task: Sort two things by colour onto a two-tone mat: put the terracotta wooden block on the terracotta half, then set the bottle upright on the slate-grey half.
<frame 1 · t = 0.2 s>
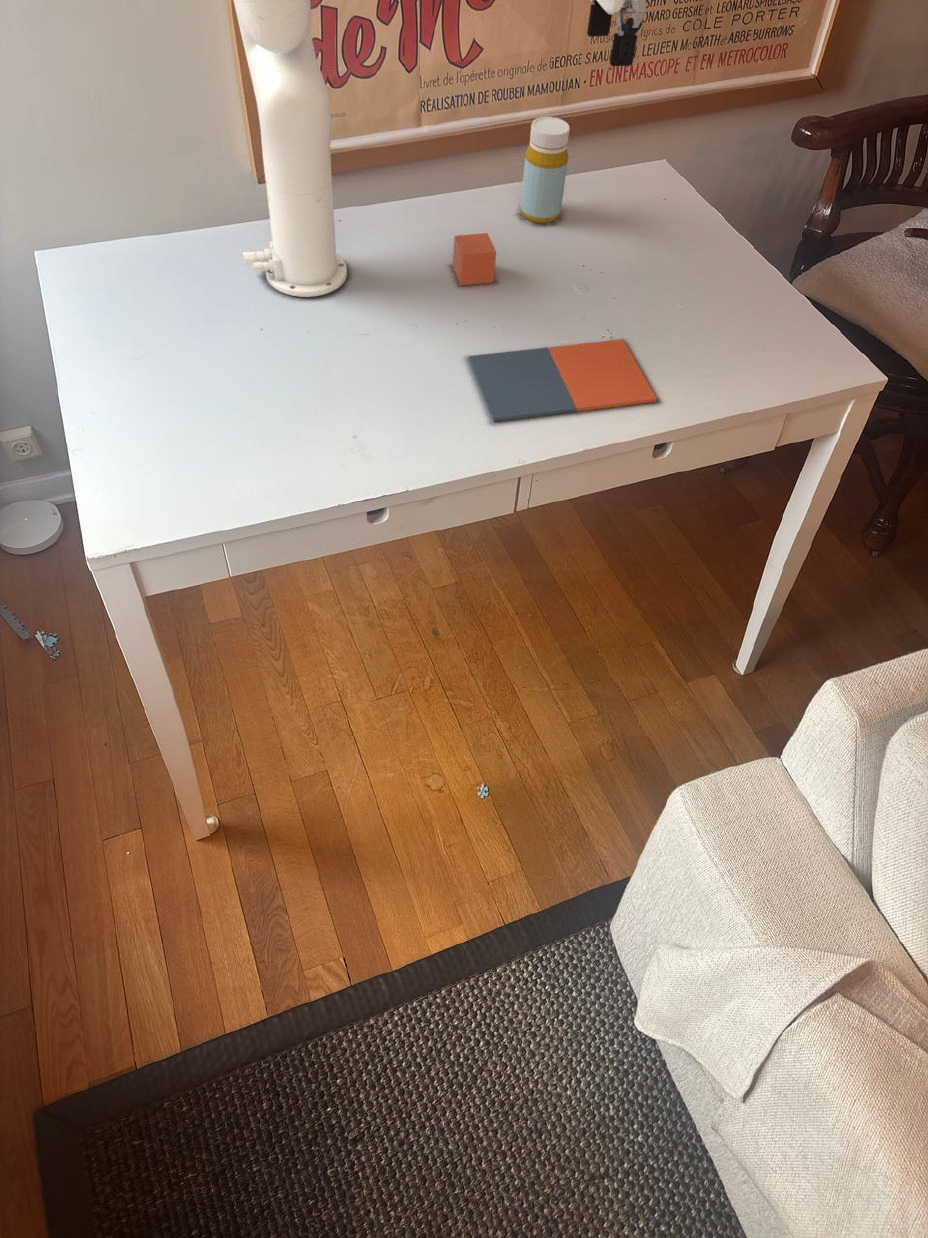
hand: (608, 49, 135), 31 cm above the table, tool pointing down, fingers open, 9 cm apart
sorting mat: (561, 380, 139), on the table
bottle: (539, 215, 166), on the table
block: (473, 274, 154), on the table
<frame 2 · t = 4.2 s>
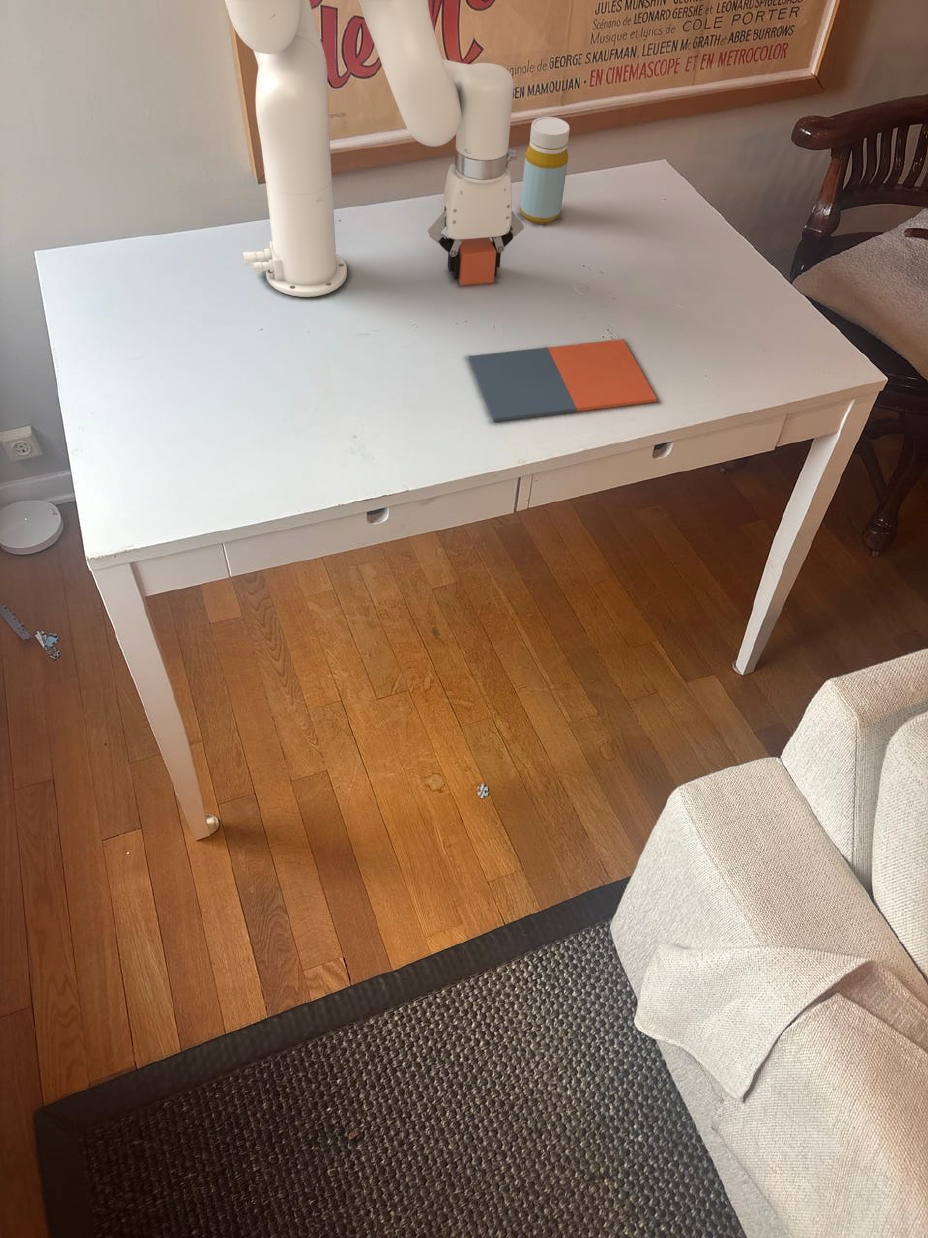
hand: (473, 271, 153), 0 cm above the table, tool pointing down, fingers closed on block, 5 cm apart
block: (473, 274, 154), on the table, touching gripper
everything else where it was.
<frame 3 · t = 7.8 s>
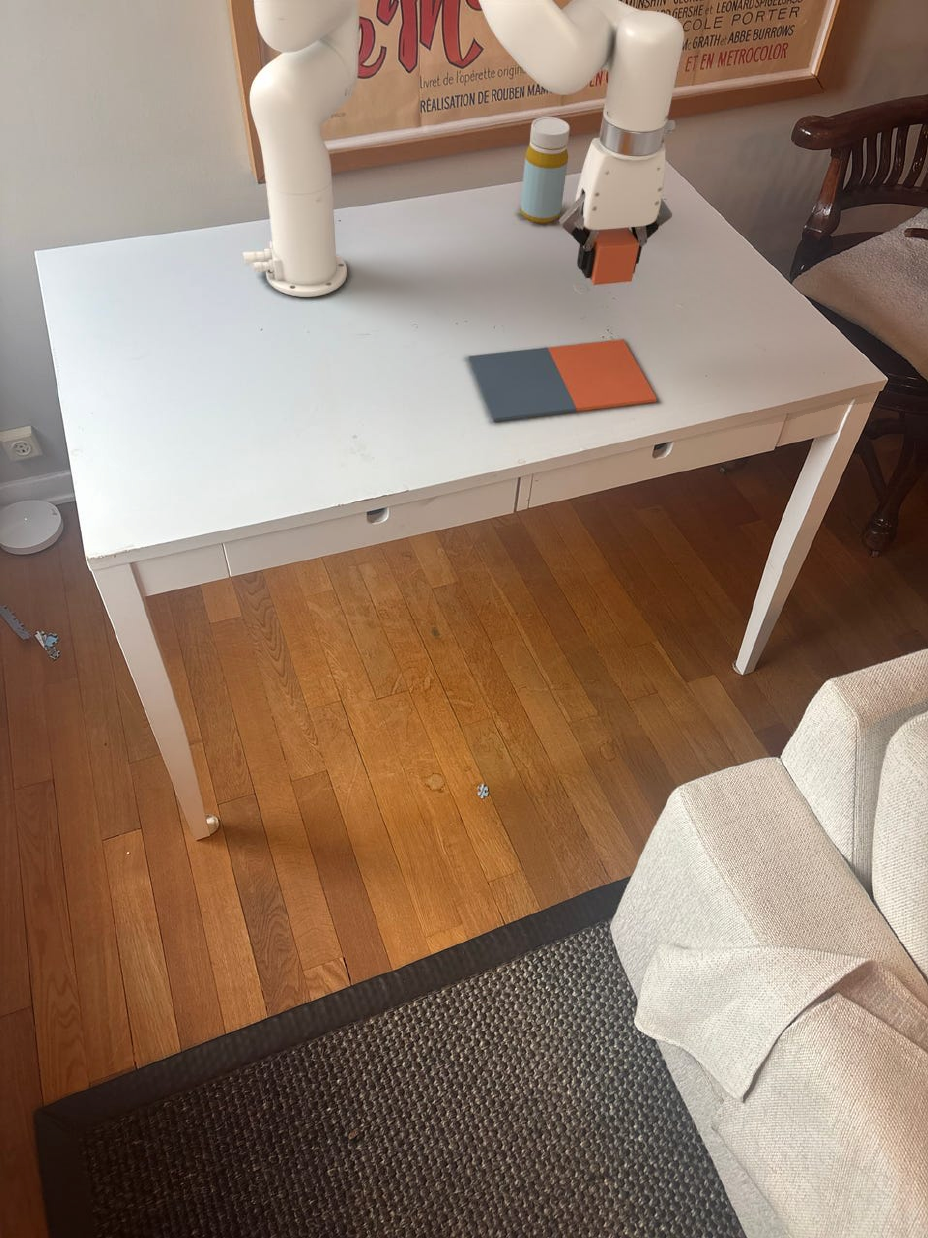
hand: (606, 269, 129), 16 cm above the table, tool pointing down, fingers closed on block, 5 cm apart
block: (605, 271, 129), point 15 cm above the table, touching gripper
everything else where it was.
when the fingers open (1 cm above the table, at t = 11.7 s): block stays where it is, resting on sorting mat.
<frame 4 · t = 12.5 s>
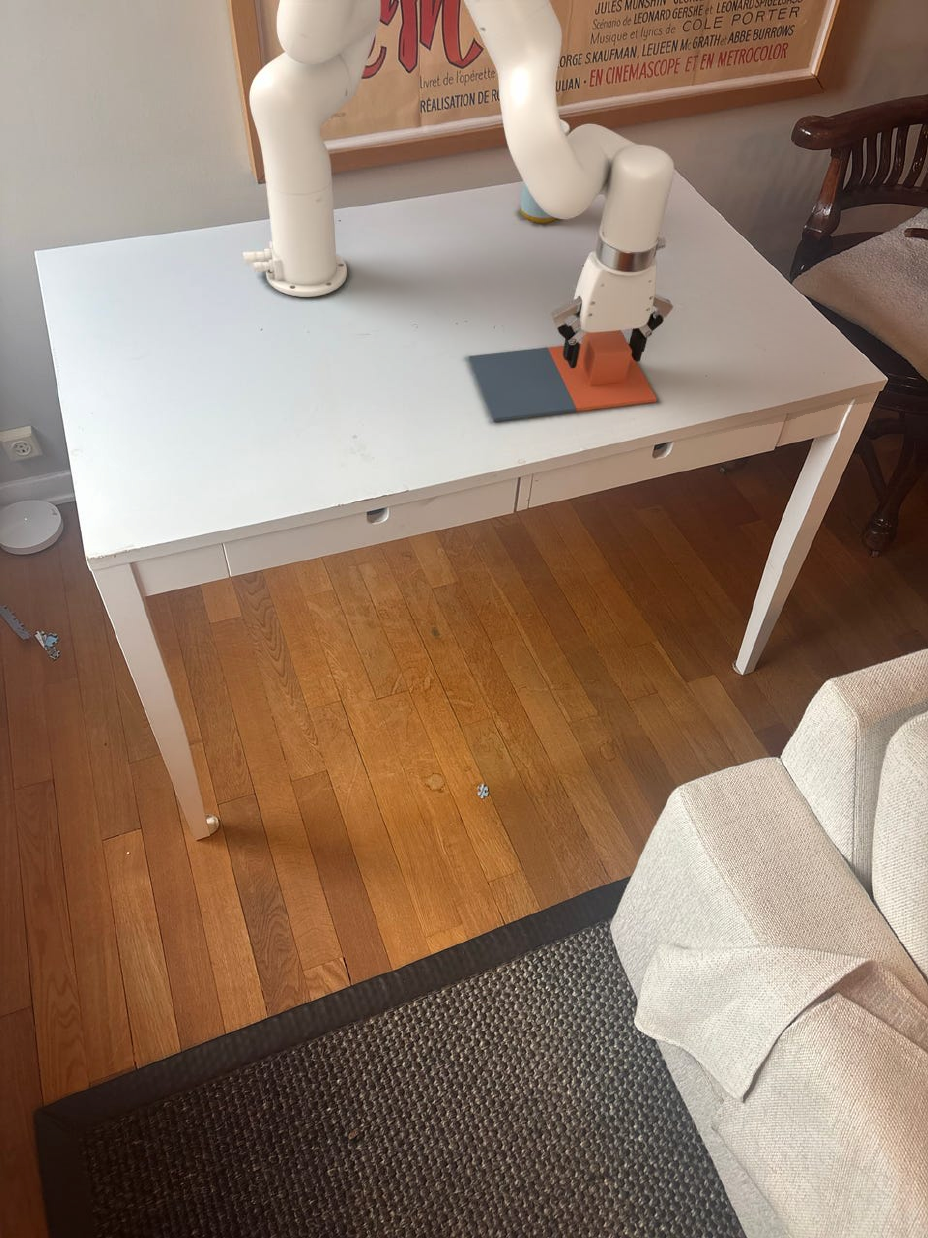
hand: (602, 358, 137), 3 cm above the table, tool pointing down, fingers open, 9 cm apart
block: (601, 372, 139), point 1 cm above the table, touching sorting mat
everything else where it was.
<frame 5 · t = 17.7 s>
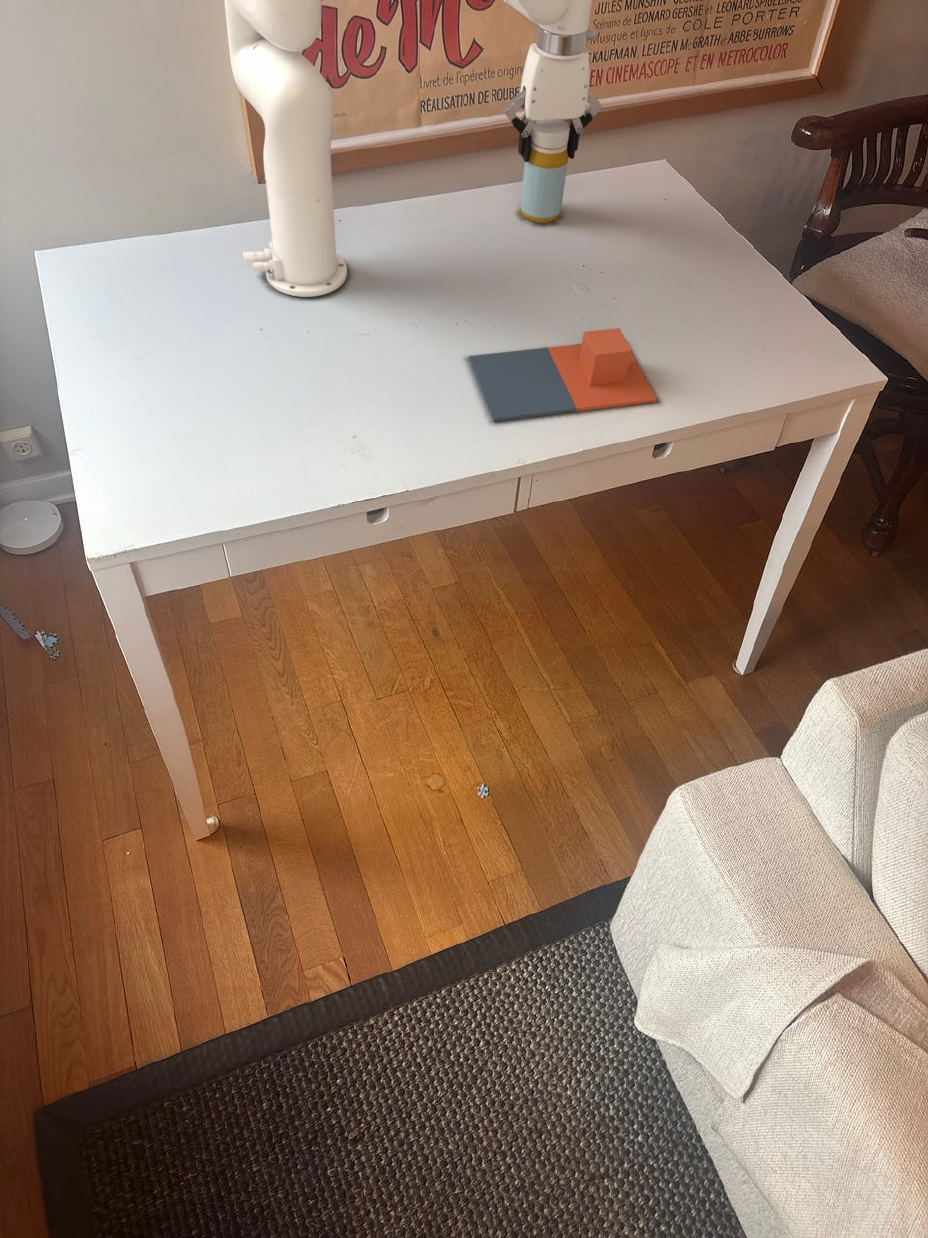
hand: (547, 155, 158), 10 cm above the table, tool pointing down, fingers closed on bottle, 7 cm apart
bottle: (539, 215, 166), on the table, touching gripper
everything else where it was.
when the fingers open (11 cm above the table, at t = 26.2 s): bottle stays where it is, resting on sorting mat.
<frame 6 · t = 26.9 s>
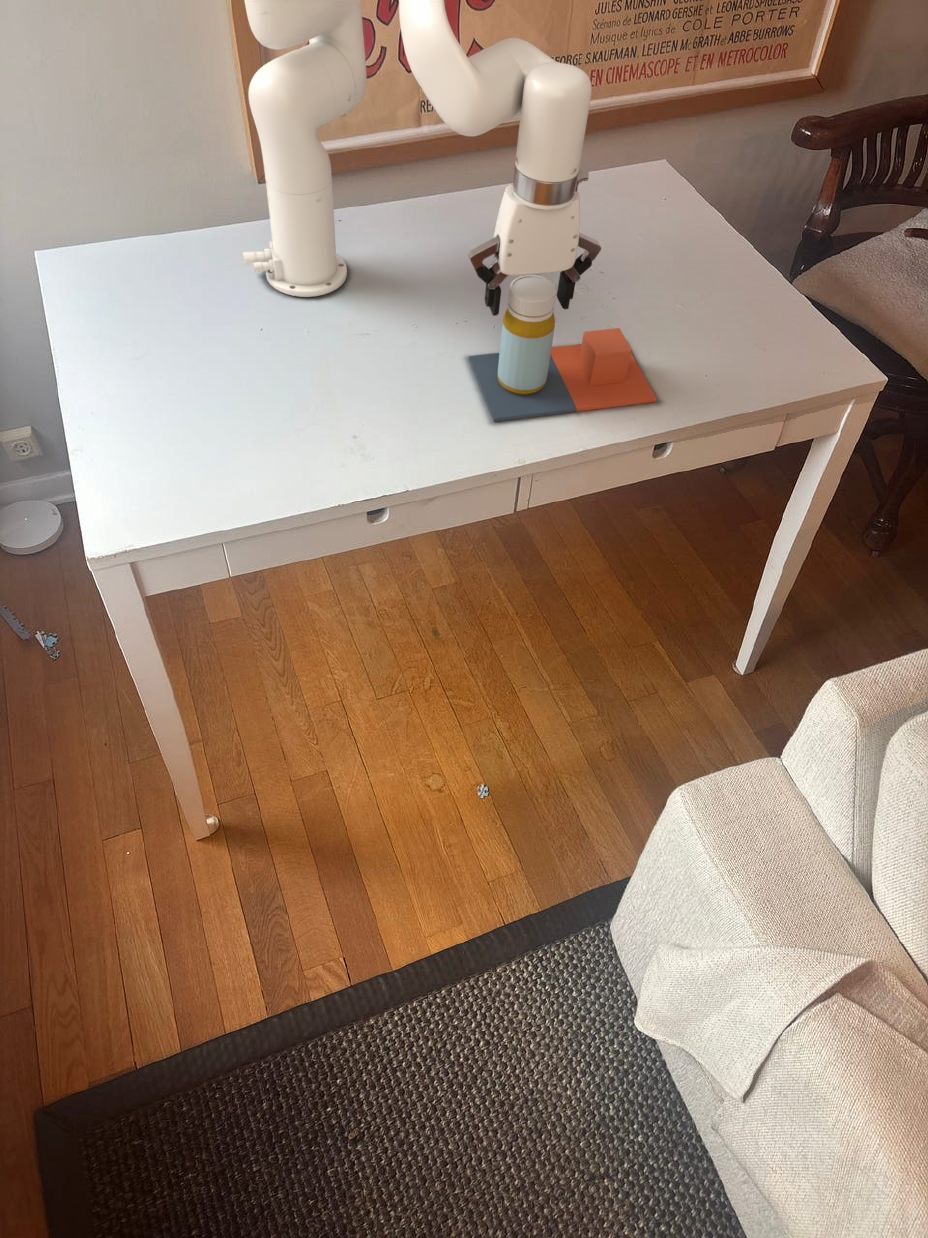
hand: (527, 306, 128), 13 cm above the table, tool pointing down, fingers open, 9 cm apart
bottle: (521, 382, 137), resting on sorting mat
everything else where it was.
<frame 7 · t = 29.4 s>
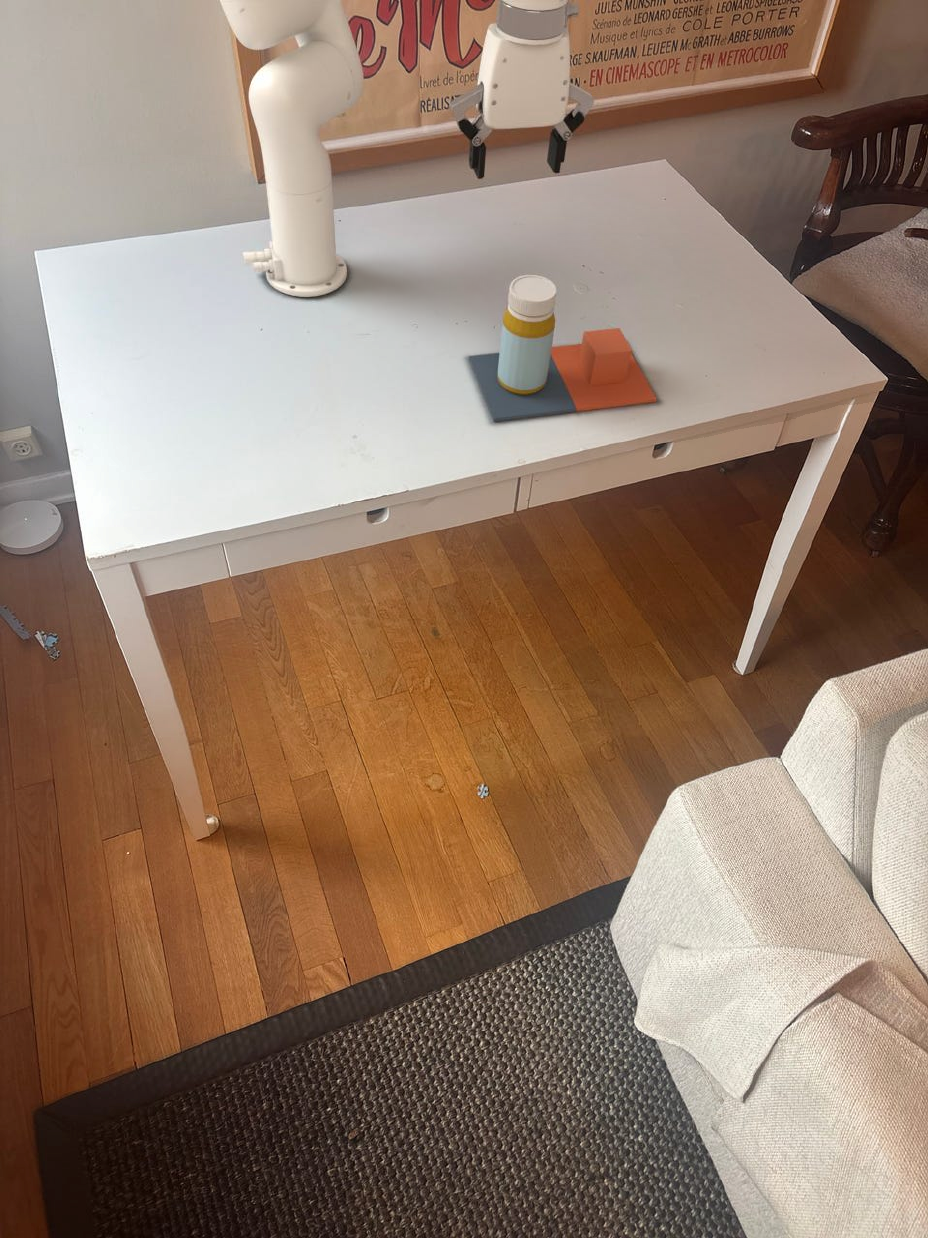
hand: (515, 170, 118), 28 cm above the table, tool pointing down, fingers open, 9 cm apart
nothing on the table moved.
at the end: block inside the target area on the sorting mat (0.5 cm from its centre), point 0.6 cm above the sorting mat's base; bottle inside the target area on the sorting mat (0.5 cm from its centre), point 0.4 cm above the sorting mat's base; bottle tilted 0° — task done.
